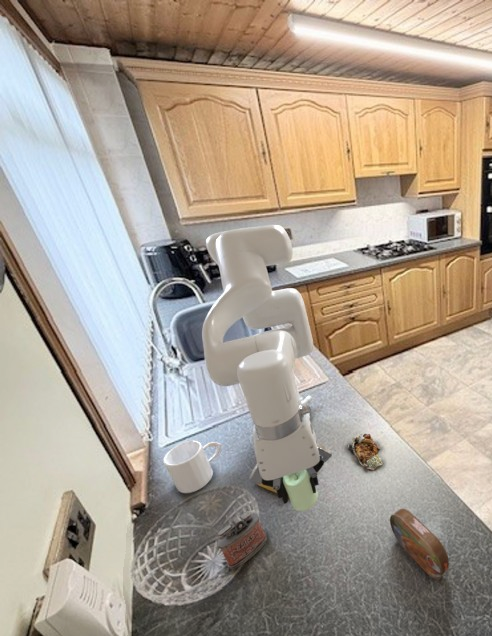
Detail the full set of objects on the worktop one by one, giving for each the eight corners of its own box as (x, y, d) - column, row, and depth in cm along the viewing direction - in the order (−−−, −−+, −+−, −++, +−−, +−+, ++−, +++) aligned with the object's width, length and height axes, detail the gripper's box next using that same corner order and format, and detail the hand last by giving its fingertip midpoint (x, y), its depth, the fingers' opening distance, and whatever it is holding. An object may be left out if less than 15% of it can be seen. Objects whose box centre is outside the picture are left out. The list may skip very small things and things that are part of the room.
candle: (305, 515, 65) (294, 486, 62) (286, 505, 67) (275, 477, 64) (323, 493, 69) (314, 465, 65) (305, 484, 71) (295, 456, 68)
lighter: (262, 531, 77) (250, 501, 73) (270, 541, 75) (258, 510, 71) (225, 562, 72) (210, 531, 67) (232, 573, 70) (217, 542, 65)
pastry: (367, 474, 90) (366, 464, 88) (346, 447, 98) (344, 438, 97) (390, 460, 94) (389, 450, 92) (367, 435, 102) (366, 426, 101)
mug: (232, 472, 92) (221, 444, 88) (180, 499, 85) (165, 471, 81) (225, 454, 98) (214, 428, 94) (175, 478, 91) (161, 451, 87)
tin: (390, 534, 75) (386, 508, 72) (401, 524, 77) (398, 498, 74) (440, 589, 66) (439, 562, 62) (451, 575, 68) (451, 549, 64)
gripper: (326, 393, 65) (340, 463, 73) (225, 420, 59) (253, 492, 68) (332, 419, 59) (347, 492, 67) (220, 451, 53) (251, 526, 61)
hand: (299, 491), depth 67 cm, fingers closed on candle, 4 cm apart
